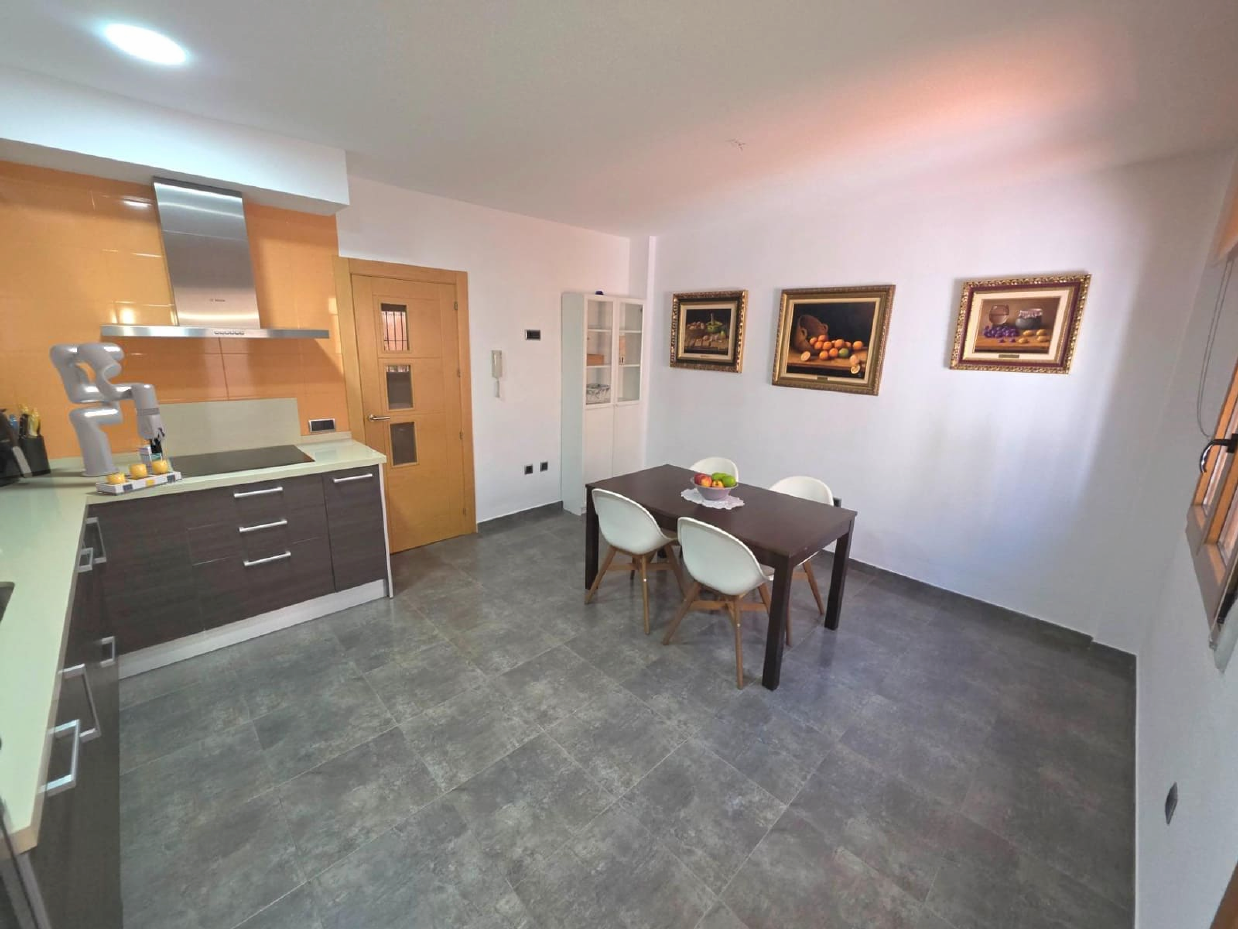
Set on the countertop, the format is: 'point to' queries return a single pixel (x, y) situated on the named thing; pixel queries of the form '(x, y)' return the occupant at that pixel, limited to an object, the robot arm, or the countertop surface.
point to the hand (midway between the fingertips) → (157, 453)
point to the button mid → (138, 471)
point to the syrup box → (149, 457)
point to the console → (138, 483)
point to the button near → (116, 479)
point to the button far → (159, 467)
